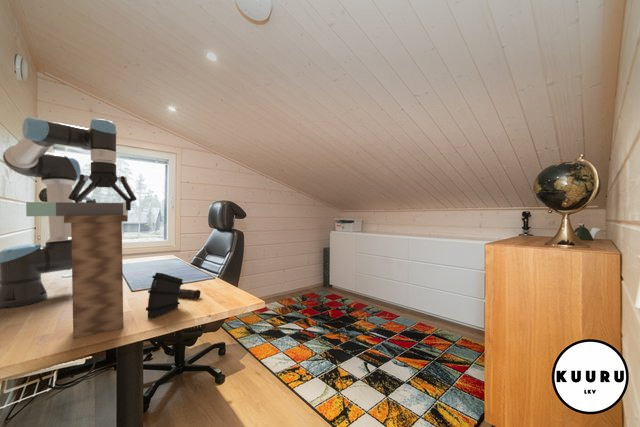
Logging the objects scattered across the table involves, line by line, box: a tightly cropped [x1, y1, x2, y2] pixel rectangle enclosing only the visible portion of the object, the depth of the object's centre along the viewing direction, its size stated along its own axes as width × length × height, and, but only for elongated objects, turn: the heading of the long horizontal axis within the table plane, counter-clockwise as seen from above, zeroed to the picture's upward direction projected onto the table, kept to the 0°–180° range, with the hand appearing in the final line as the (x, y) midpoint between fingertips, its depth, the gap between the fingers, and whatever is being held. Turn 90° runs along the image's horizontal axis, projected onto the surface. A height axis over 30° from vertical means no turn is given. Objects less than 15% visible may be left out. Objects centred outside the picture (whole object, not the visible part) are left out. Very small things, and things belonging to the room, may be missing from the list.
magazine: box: [145, 272, 184, 319], centre depth 101 cm, size 4×13×15 cm, turn 162°
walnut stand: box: [64, 215, 129, 339], centre depth 88 cm, size 15×10×36 cm, turn 127°
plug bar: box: [25, 201, 123, 217], centre depth 85 cm, size 22×4×4 cm, turn 127°
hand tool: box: [178, 288, 201, 301], centre depth 120 cm, size 19×4×5 cm, turn 69°
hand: (104, 219), depth 103 cm, fingers open, 13 cm apart
